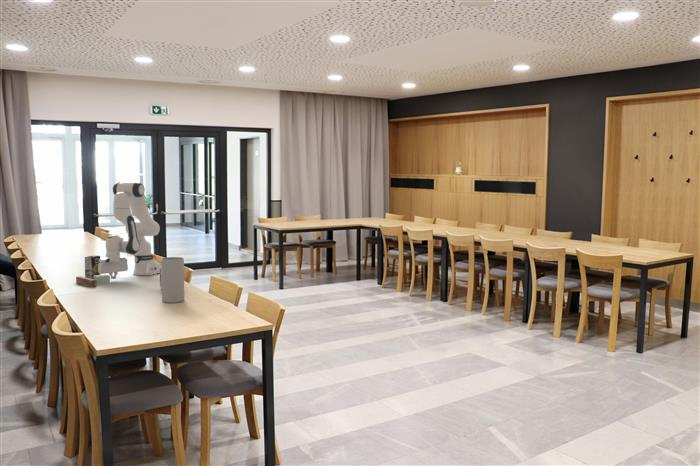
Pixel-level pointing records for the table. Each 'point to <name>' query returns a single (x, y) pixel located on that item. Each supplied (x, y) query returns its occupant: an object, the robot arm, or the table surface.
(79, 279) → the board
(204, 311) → the table surface
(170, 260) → the cylinder vase
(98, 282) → the block
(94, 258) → the coffee box
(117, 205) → the robot arm
